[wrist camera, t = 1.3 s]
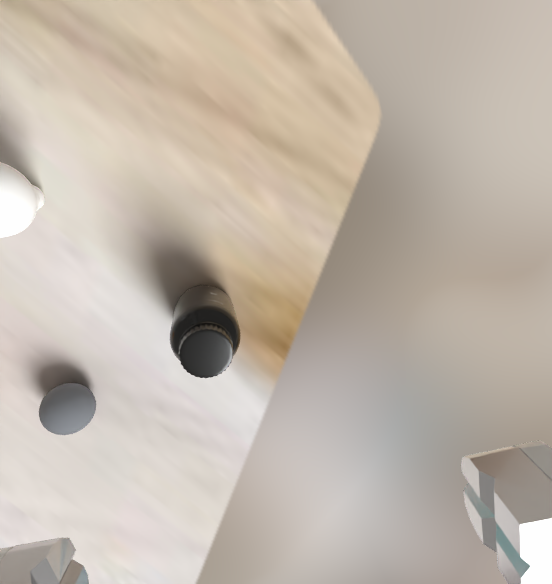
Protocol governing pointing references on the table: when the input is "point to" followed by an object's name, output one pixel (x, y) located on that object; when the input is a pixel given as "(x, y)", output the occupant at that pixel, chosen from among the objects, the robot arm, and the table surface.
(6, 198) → the lightbulb
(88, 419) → the charcoal ball
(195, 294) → the supplement bottle
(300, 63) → the table surface
